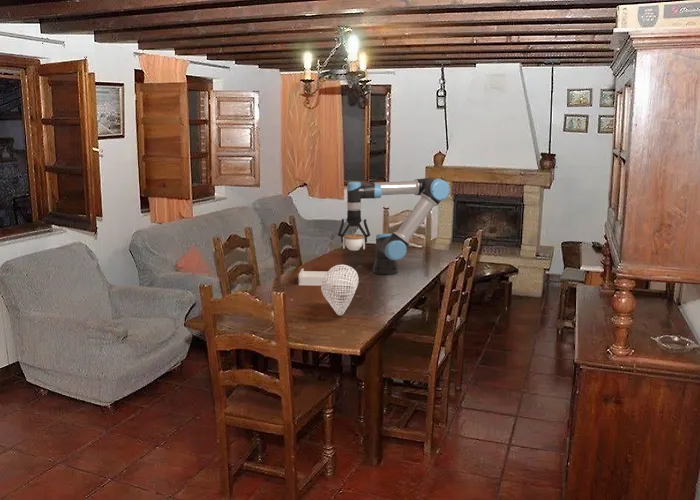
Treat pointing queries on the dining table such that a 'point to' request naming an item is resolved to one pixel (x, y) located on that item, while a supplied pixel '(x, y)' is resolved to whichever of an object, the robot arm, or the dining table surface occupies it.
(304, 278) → the pusher lane
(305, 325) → the dining table surface
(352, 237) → the lidded jar
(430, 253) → the dining table surface
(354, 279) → the heart
